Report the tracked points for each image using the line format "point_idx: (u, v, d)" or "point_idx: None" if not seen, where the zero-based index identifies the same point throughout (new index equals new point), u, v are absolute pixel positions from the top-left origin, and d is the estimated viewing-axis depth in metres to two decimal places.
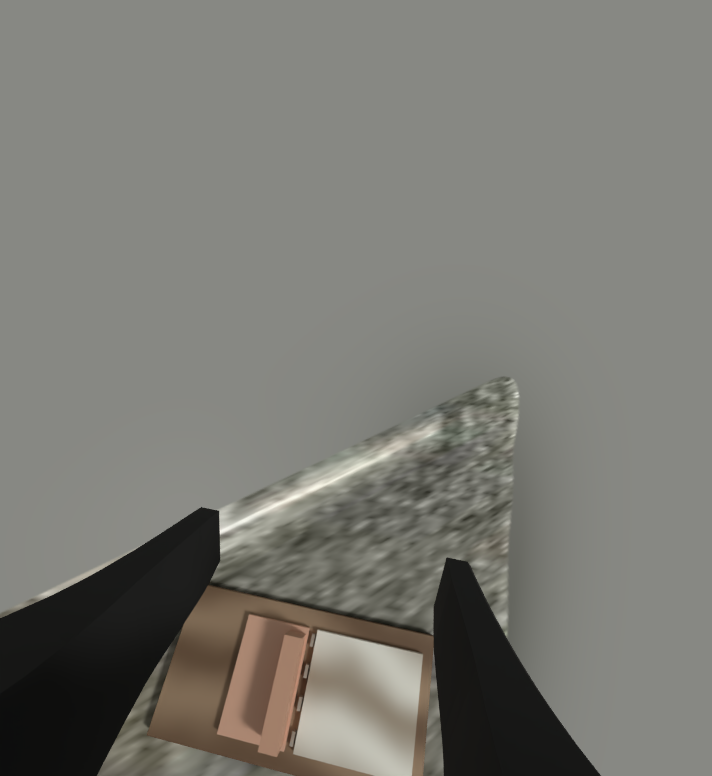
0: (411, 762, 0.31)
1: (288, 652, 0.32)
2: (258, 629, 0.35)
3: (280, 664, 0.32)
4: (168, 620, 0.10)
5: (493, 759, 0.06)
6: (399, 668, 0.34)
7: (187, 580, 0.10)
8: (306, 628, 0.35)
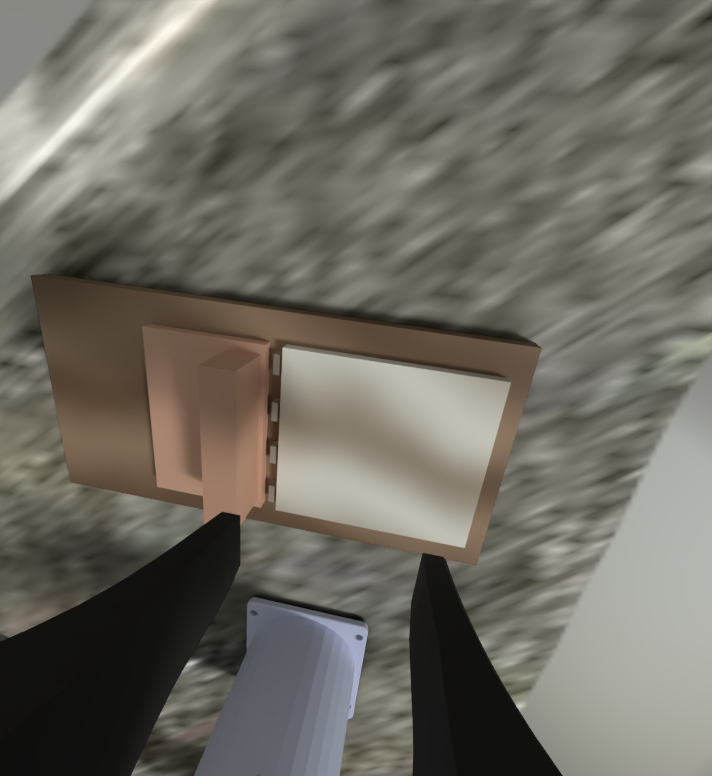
0: (468, 525, 0.18)
1: (214, 396, 0.15)
2: (168, 350, 0.17)
3: (204, 415, 0.15)
4: (193, 626, 0.10)
5: (449, 748, 0.06)
6: (457, 405, 0.16)
7: (211, 585, 0.10)
8: (259, 345, 0.17)
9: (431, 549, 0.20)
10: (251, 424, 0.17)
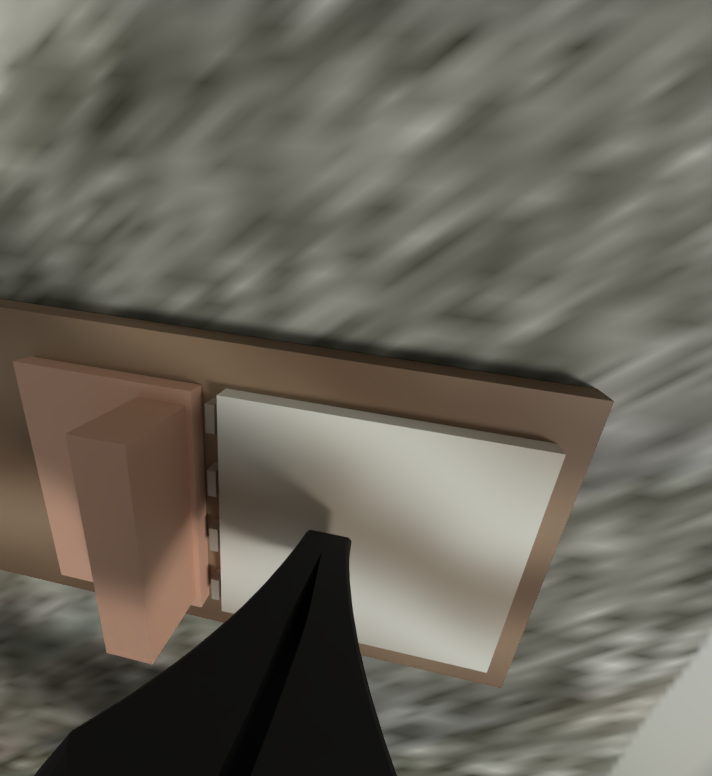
0: (492, 645, 0.13)
1: (98, 480, 0.09)
2: (54, 396, 0.12)
3: (86, 507, 0.10)
4: (297, 651, 0.09)
5: (280, 704, 0.06)
6: (480, 485, 0.11)
7: (309, 608, 0.10)
8: (182, 391, 0.11)
9: (438, 665, 0.14)
10: (173, 507, 0.12)
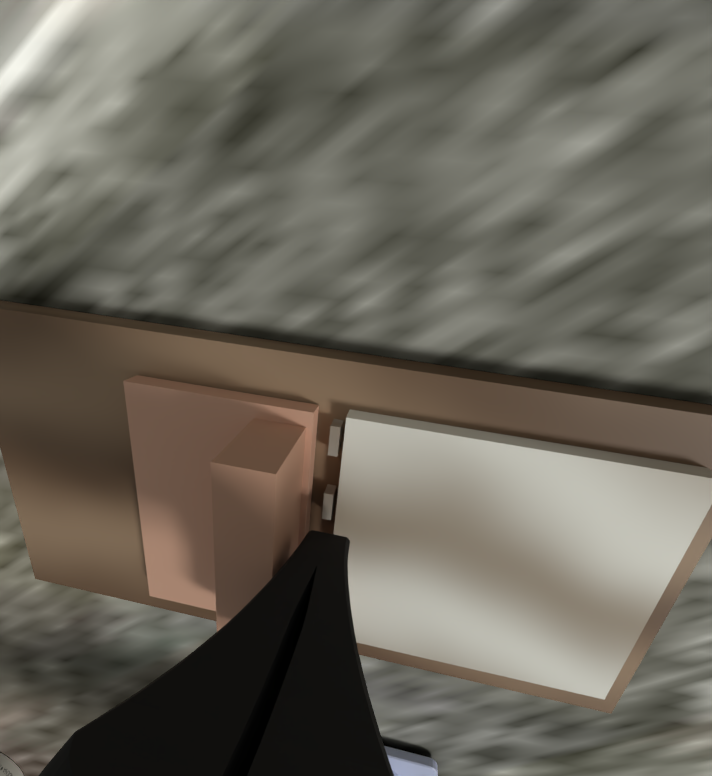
0: (615, 672, 0.12)
1: (239, 509, 0.09)
2: (164, 417, 0.12)
3: (221, 536, 0.09)
4: None
5: (277, 703, 0.06)
6: (625, 511, 0.10)
7: None
8: (305, 412, 0.11)
9: (545, 689, 0.14)
10: (291, 532, 0.11)
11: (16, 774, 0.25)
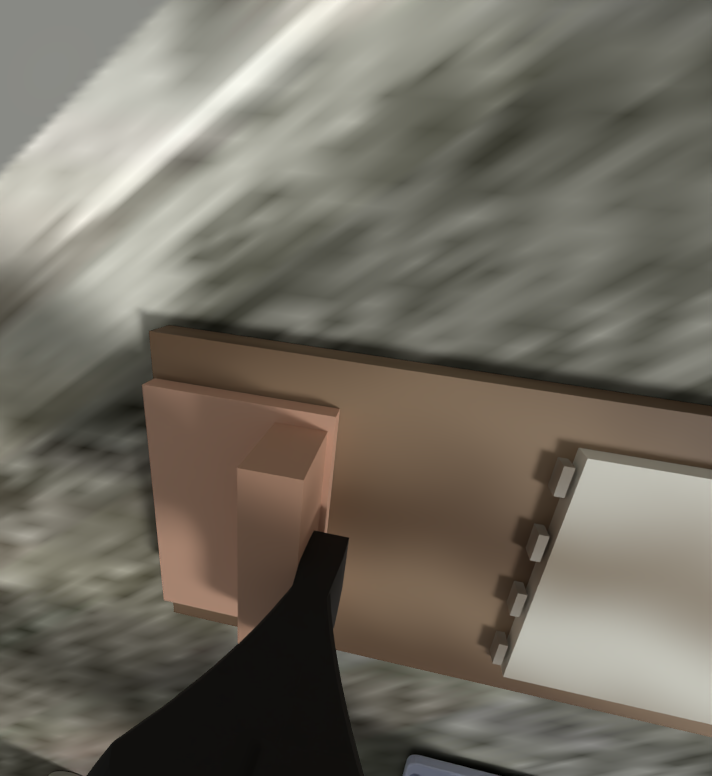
0: None
1: (265, 515, 0.09)
2: (183, 421, 0.11)
3: (246, 542, 0.09)
4: None
5: (250, 696, 0.06)
6: None
7: (331, 613, 0.10)
8: (326, 417, 0.11)
9: None
10: None
11: None
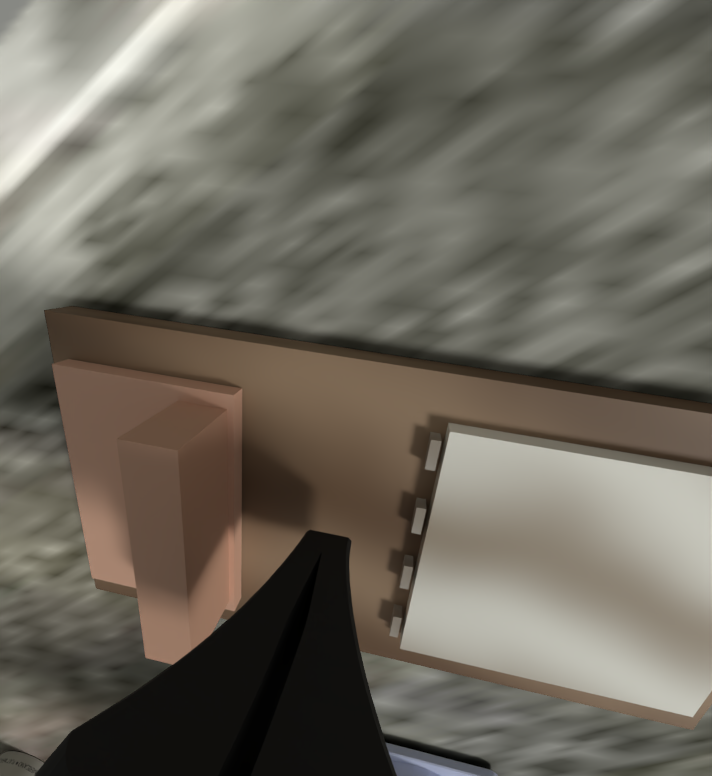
0: (707, 690, 0.12)
1: (147, 485, 0.09)
2: (92, 400, 0.12)
3: (133, 512, 0.10)
4: (296, 651, 0.09)
5: (280, 704, 0.06)
6: None
7: (309, 608, 0.10)
8: (225, 395, 0.11)
9: (626, 705, 0.14)
10: (214, 512, 0.11)
11: None
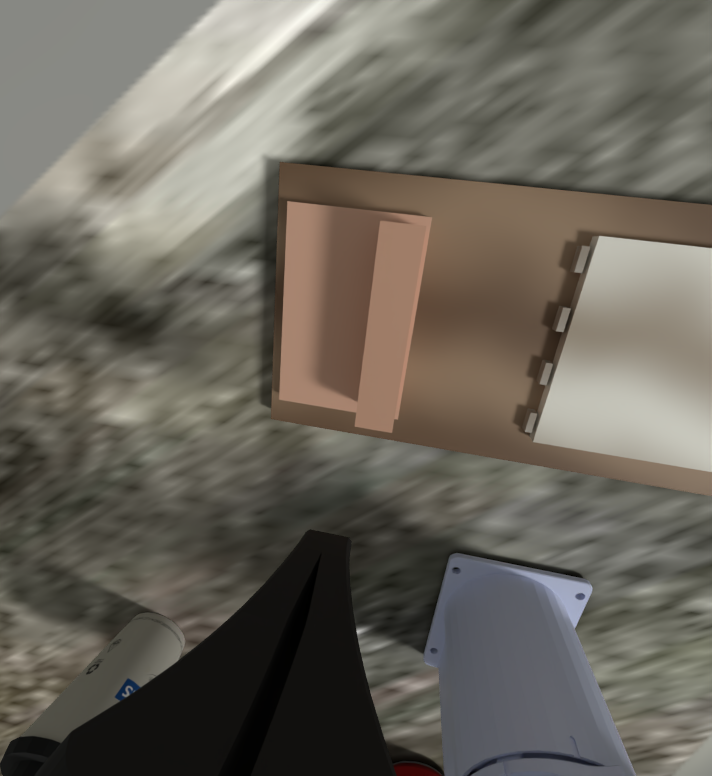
0: None
1: (395, 260, 0.13)
2: (315, 230, 0.16)
3: (378, 285, 0.14)
4: (297, 651, 0.09)
5: (279, 704, 0.06)
6: None
7: (309, 608, 0.10)
8: (425, 218, 0.15)
9: (710, 487, 0.17)
10: None
11: (181, 638, 0.28)
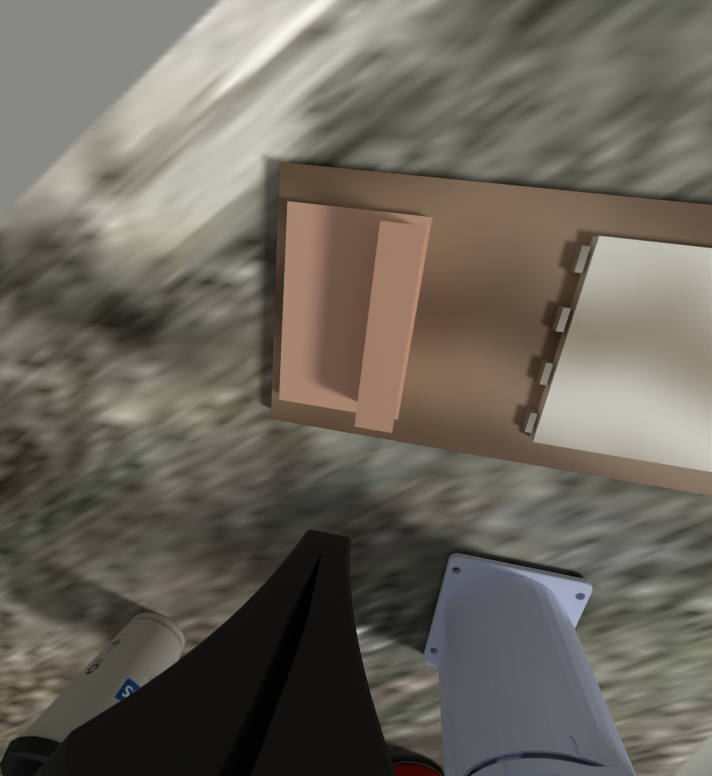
0: None
1: (395, 260, 0.13)
2: (315, 230, 0.16)
3: (378, 285, 0.14)
4: (297, 651, 0.09)
5: (279, 704, 0.06)
6: None
7: (309, 608, 0.10)
8: (425, 218, 0.15)
9: (710, 487, 0.17)
10: None
11: (181, 638, 0.28)
